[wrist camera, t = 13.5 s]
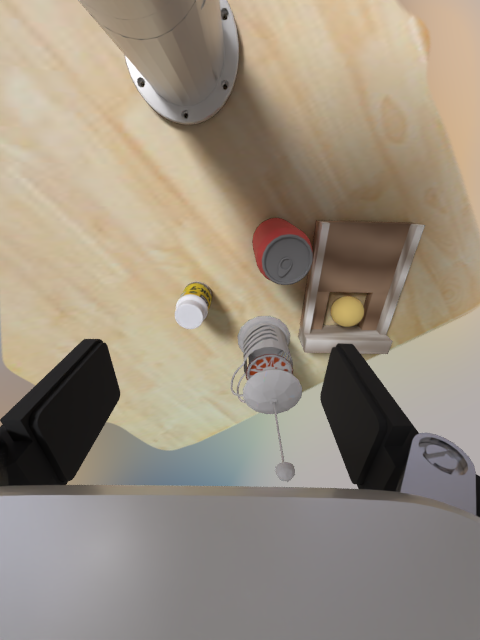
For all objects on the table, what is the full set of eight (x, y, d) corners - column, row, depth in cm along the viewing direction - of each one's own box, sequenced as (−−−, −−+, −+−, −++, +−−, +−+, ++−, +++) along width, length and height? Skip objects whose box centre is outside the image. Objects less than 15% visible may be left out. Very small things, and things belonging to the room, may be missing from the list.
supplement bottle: (217, 291, 41) (212, 313, 34) (203, 311, 43) (195, 337, 35) (192, 275, 40) (182, 295, 32) (179, 297, 42) (165, 320, 34)
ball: (339, 302, 37) (332, 331, 39) (373, 303, 37) (364, 332, 39) (330, 291, 41) (325, 317, 44) (360, 292, 41) (353, 319, 43)
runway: (316, 220, 36) (327, 224, 31) (411, 222, 36) (435, 227, 32) (298, 336, 45) (304, 352, 41) (373, 337, 45) (387, 353, 41)
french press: (299, 344, 46) (355, 486, 24) (249, 372, 49) (257, 520, 27) (271, 305, 42) (307, 431, 20) (219, 339, 46) (199, 479, 23)
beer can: (246, 254, 38) (248, 279, 28) (261, 210, 35) (270, 219, 25) (285, 267, 39) (302, 296, 29) (302, 226, 36) (329, 241, 26)
